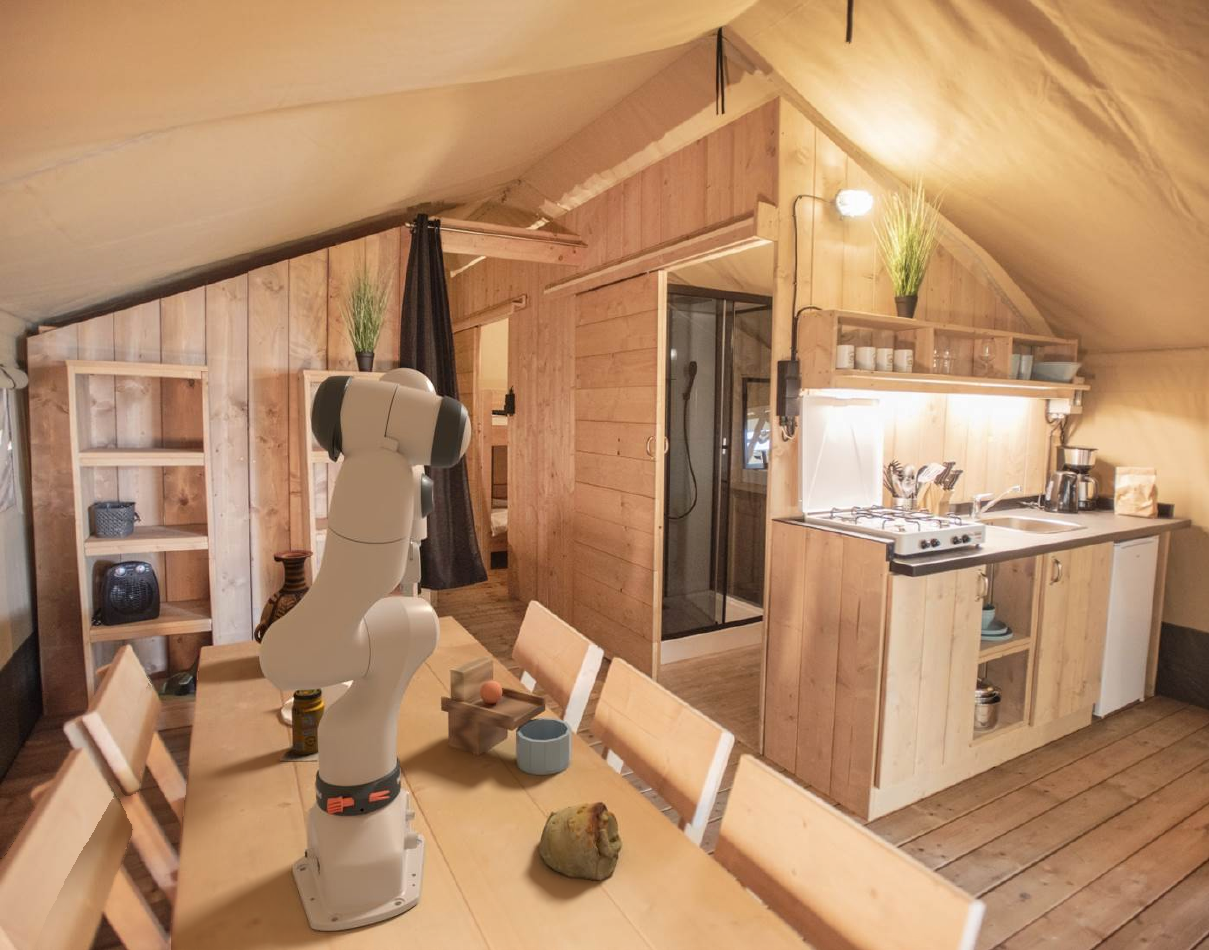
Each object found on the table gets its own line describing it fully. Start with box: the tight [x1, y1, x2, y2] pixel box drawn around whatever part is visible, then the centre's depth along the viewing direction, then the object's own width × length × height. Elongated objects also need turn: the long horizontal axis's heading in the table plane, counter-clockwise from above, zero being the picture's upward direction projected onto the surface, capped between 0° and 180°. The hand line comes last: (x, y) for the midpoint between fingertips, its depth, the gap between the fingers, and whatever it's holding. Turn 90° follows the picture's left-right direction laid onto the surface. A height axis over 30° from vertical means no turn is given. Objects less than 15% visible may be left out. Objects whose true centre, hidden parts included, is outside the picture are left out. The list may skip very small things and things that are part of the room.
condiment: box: [279, 688, 324, 762], centre depth 139 cm, size 7×8×12 cm
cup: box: [515, 717, 573, 776], centre depth 135 cm, size 10×10×6 cm
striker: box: [449, 656, 494, 704], centre depth 144 cm, size 4×9×7 cm, turn 149°
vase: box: [253, 549, 314, 645], centre depth 189 cm, size 21×18×30 cm
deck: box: [440, 685, 546, 756], centre depth 142 cm, size 18×11×10 cm, turn 59°
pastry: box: [538, 801, 623, 882], centre depth 107 cm, size 14×12×8 cm
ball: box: [480, 680, 503, 704], centre depth 141 cm, size 4×4×4 cm
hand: (406, 595), depth 147 cm, fingers open, 4 cm apart
